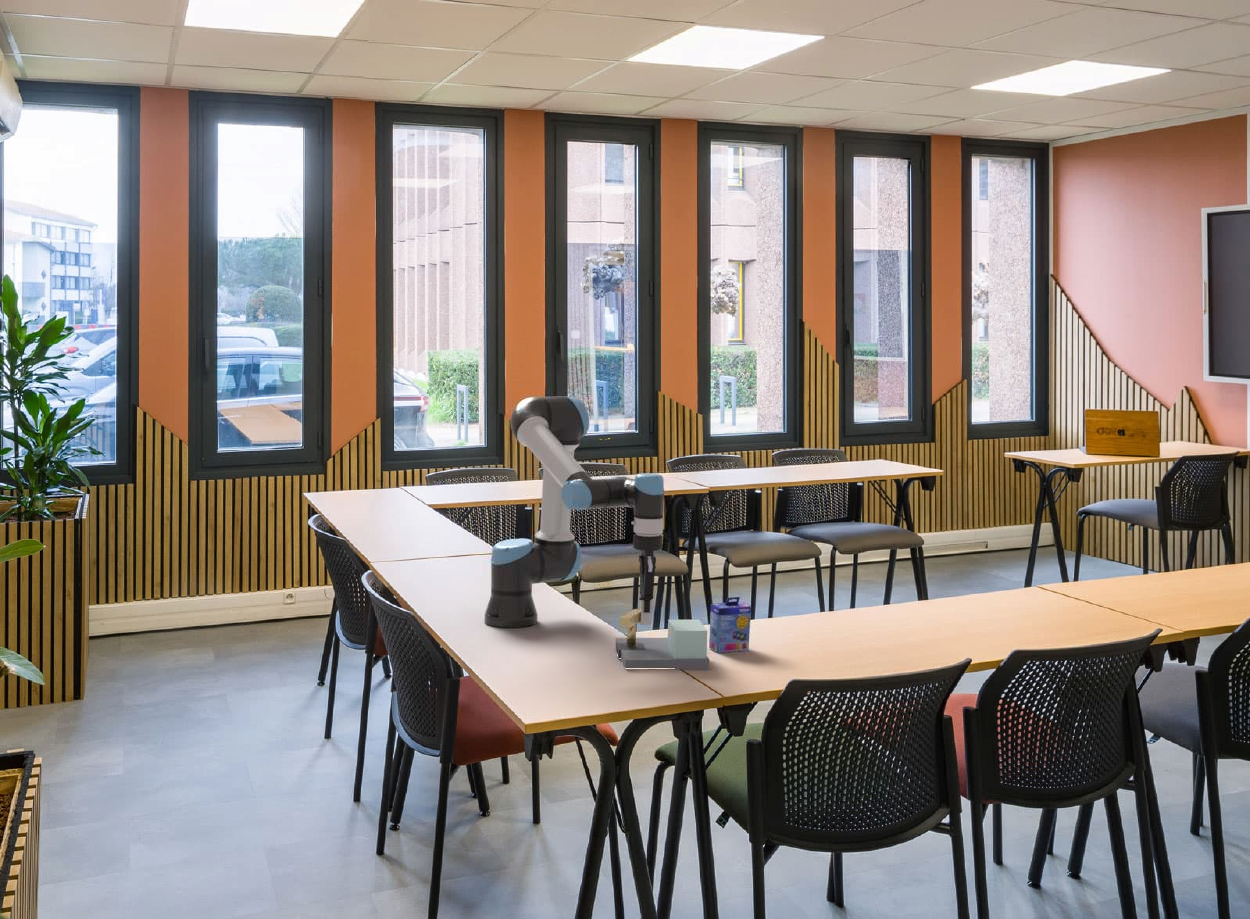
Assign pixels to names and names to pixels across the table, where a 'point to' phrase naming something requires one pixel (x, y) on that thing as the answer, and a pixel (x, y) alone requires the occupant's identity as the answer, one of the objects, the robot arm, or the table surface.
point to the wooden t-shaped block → (630, 625)
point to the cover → (687, 639)
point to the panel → (654, 655)
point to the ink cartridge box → (729, 626)
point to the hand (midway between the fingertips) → (645, 624)
